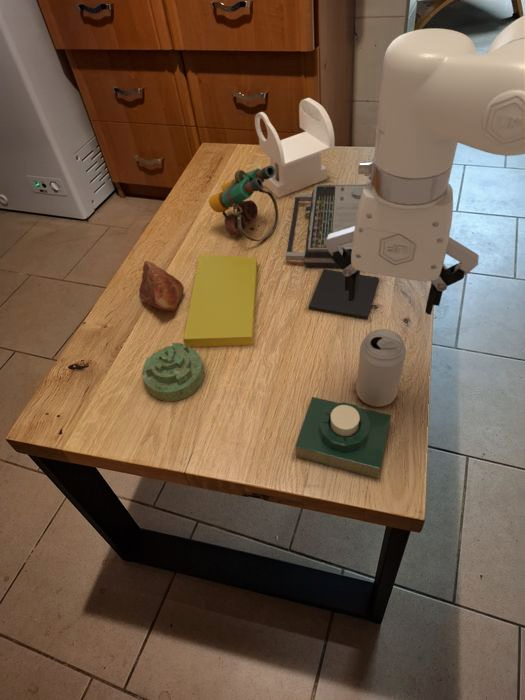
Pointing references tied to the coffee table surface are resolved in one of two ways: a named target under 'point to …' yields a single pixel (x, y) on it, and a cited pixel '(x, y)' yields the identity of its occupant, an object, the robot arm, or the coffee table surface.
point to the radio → (325, 221)
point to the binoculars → (242, 200)
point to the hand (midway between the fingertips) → (390, 300)
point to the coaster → (343, 295)
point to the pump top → (344, 420)
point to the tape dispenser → (297, 149)
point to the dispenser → (343, 439)
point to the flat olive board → (222, 302)
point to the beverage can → (380, 367)
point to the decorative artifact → (173, 372)
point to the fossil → (160, 287)
